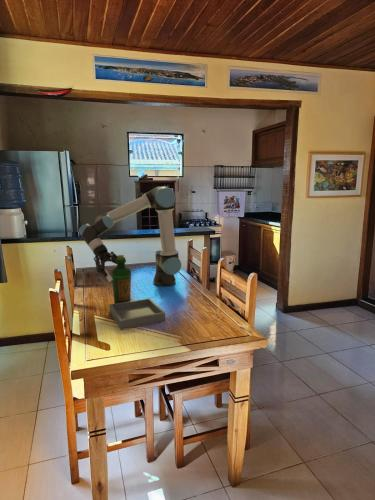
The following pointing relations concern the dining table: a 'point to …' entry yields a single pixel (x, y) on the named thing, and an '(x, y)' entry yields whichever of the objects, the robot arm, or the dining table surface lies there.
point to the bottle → (121, 281)
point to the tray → (136, 313)
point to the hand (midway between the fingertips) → (119, 277)
